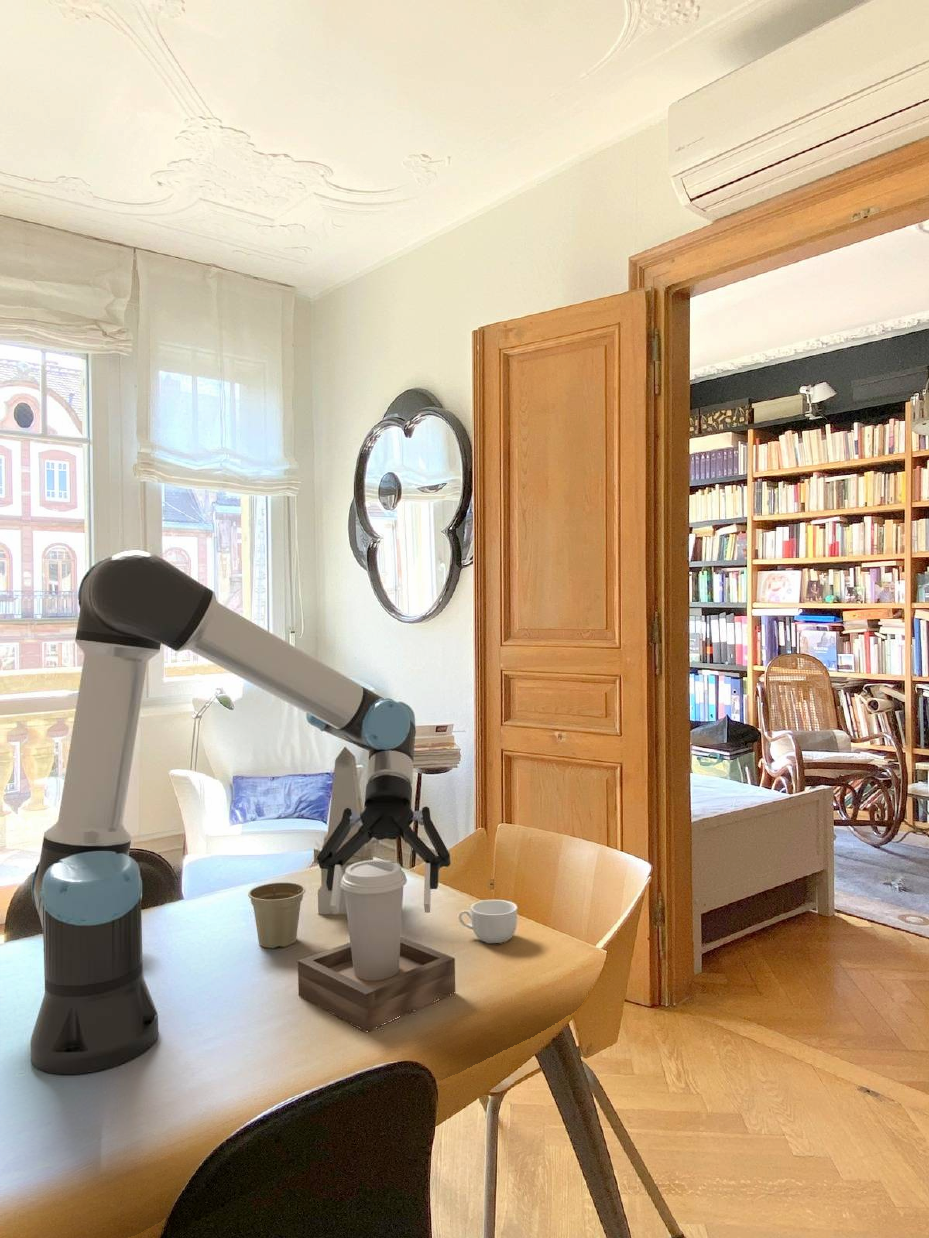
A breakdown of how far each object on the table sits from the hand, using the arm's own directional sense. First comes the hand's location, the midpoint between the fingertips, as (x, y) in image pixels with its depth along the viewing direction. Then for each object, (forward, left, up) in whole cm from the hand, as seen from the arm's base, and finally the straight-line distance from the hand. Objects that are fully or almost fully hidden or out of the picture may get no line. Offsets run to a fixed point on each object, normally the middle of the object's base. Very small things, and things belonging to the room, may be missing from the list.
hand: (380, 909), depth 125 cm
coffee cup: (-1, -1, -9) cm, 9 cm away
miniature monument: (+18, +33, -12) cm, 39 cm away
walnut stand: (-2, -1, -11) cm, 12 cm away
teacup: (+24, +2, -12) cm, 27 cm away
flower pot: (-1, +27, -12) cm, 29 cm away
